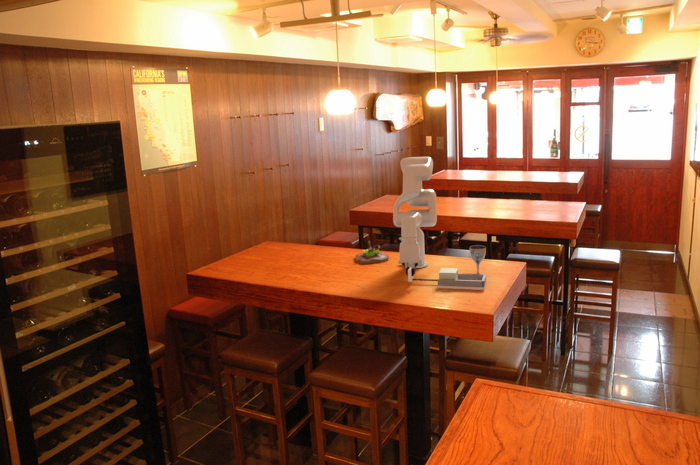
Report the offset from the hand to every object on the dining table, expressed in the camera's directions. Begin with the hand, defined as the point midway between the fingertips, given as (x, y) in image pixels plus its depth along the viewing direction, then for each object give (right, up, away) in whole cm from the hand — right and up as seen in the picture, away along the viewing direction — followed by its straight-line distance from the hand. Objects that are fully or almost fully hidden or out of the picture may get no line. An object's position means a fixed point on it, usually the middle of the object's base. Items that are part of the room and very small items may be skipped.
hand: (410, 275), depth 285 cm
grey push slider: (+11, -3, -3) cm, 11 cm away
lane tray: (+24, -4, -7) cm, 26 cm away
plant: (-18, +5, +50) cm, 54 cm away
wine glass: (+35, -1, +7) cm, 36 cm away
